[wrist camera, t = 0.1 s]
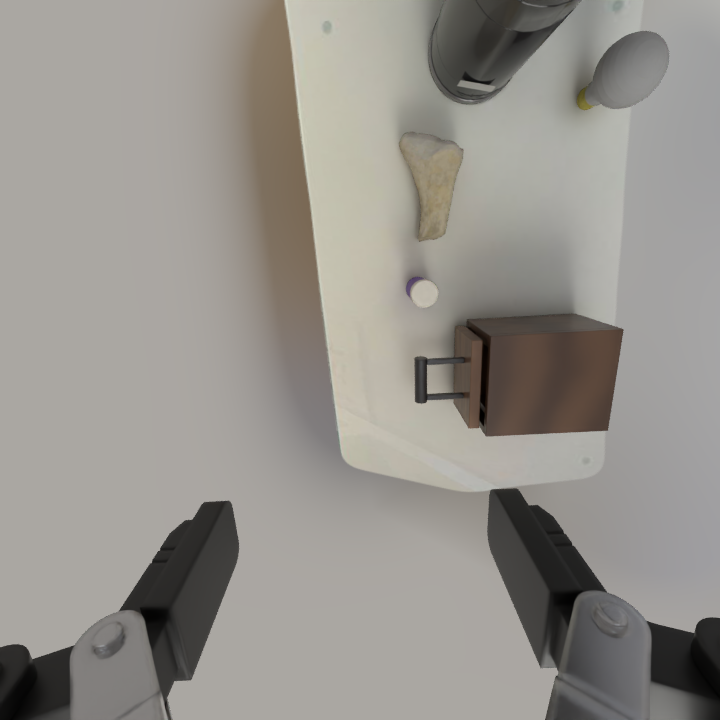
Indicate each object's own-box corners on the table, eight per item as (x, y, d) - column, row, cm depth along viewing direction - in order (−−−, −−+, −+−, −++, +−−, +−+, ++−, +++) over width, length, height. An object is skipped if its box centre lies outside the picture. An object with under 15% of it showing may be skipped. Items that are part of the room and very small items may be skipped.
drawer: (410, 405, 50) (418, 431, 43) (409, 328, 47) (417, 343, 40) (548, 398, 50) (578, 423, 43) (555, 320, 47) (590, 334, 40)
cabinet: (464, 403, 51) (485, 436, 42) (466, 319, 47) (490, 336, 39) (565, 398, 51) (608, 430, 42) (575, 313, 47) (623, 329, 39)
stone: (395, 139, 41) (401, 126, 37) (451, 123, 41) (463, 108, 37) (417, 243, 45) (424, 242, 40) (468, 229, 44) (482, 227, 40)
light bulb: (552, 128, 41) (611, 93, 32) (563, 69, 40) (628, 14, 30) (601, 131, 41) (674, 97, 32) (614, 73, 40) (695, 18, 30)
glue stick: (405, 276, 46) (410, 280, 41) (429, 275, 46) (438, 279, 41) (405, 301, 47) (411, 308, 42) (429, 299, 47) (438, 307, 41)
